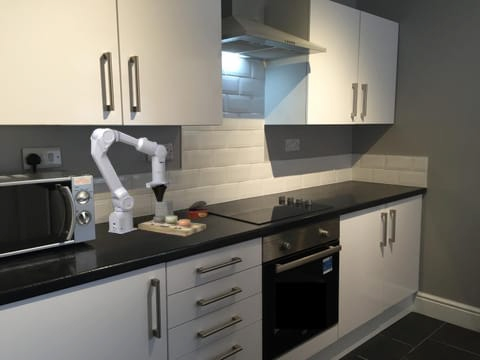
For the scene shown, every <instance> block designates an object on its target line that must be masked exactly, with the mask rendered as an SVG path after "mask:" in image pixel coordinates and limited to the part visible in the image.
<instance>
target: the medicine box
mask: <svg viewBox="0 0 480 360" xmlns="http://www.w3.org/2000/svg"><path fill="white" fill-rule="evenodd" d="M154 208H155V209H154V211H155V216H165V219H166V216H172V215H173V216H174V201H173V200H172V199H166V198H165V199H164V198H163V201H162V202H157V200H154ZM155 216H154V217H155Z"/></svg>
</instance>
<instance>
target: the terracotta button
mask: <svg viewBox="0 0 480 360" xmlns="http://www.w3.org/2000/svg"><path fill="white" fill-rule="evenodd" d="M178 221H179V226H190V225H191V223H192V222H191V219H189V218H183V219H179V220H178Z"/></svg>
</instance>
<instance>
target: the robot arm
mask: <svg viewBox="0 0 480 360" xmlns="http://www.w3.org/2000/svg"><path fill="white" fill-rule="evenodd" d="M90 141H91V143H90V144H91V145H90V148H91V149H90V154H91V156H92V158H93V161H94V162H95V164H96V166H97V168H98V170H99V171H100V174H101V176H102V177H103V179H104V181H105V184H106V185H107V186H108V188H109V191H110V196H111V202H112V205H113V206H114V211H113V212H111V213H110V214H109V217H108V220H109V221H108V223H109V225H108V226H109V230H108V233H113V234H120V235H123V234H126V233H130V232H132V231H137V230H139V229H138V227H134V215H133V213H134V212H133V208H134V206H135V204H136V202H135V198H134V197H133V196H131V195H130V194H129V192H128V191H127V189H126V188H125V187H124V186H123V184H122V182H121V180H120V178H119V176H118V175H117V173H116V171H115V169H114V166H113V165H112V163H111V161H110V159H109V157H108V156H107V152H108V150H109V148H110V147H111V145H112V144H113V143H114V142H121V143H123V144H127V145H130V146H134V148H135V150H136V151H137V152H141V153H143V154H146V155H150V157H151V170H152V171H151V172H152V173H151V175H152V176H151V177H152V180H151V181H149V182H146V183H145V187H146V189H147V188H148V189H151V190H152V191H153V193H154V196H155V199H156V200H157V202H162V201H163V199H164V195H165V193H166V190H167V189H168V186H167V185H171V184H172V179H166V157H167V154H168V150H167V148H166V147H165V145H163V144H158V143H157V142H156V141H151V140H148V138H147V137H140V138H135V137H133V136H131V135H128V134H126V133H123V132H122V131H118V130H116V129H111V128H108V127H107V128H101V127H99V128H96V129H95V130H93V132H92V134H91V136H90Z"/></svg>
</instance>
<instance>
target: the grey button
mask: <svg viewBox="0 0 480 360" xmlns="http://www.w3.org/2000/svg"><path fill="white" fill-rule="evenodd" d="M152 220H154V222H155V223H162V222H165V216H153V219H152Z"/></svg>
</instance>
